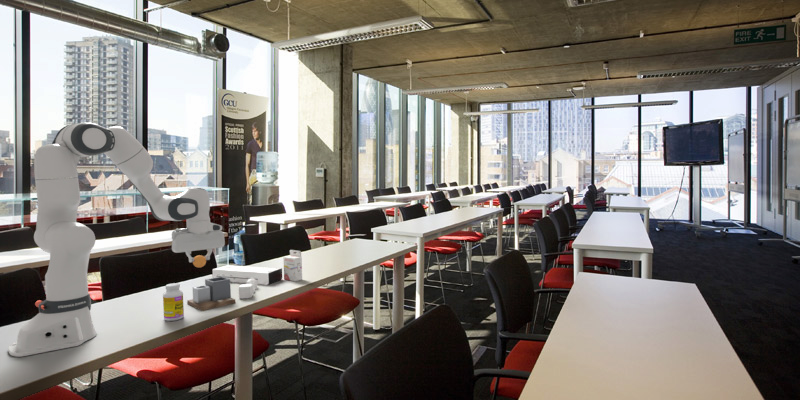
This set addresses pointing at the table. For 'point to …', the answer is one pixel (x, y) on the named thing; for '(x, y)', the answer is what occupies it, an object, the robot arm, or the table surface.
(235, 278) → the laminator
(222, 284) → the dark grey square container
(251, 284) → the white dumbbell
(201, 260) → the ball
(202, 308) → the brown wooden tray
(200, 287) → the light grey square container
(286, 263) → the ink cartridge box
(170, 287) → the supplement bottle
